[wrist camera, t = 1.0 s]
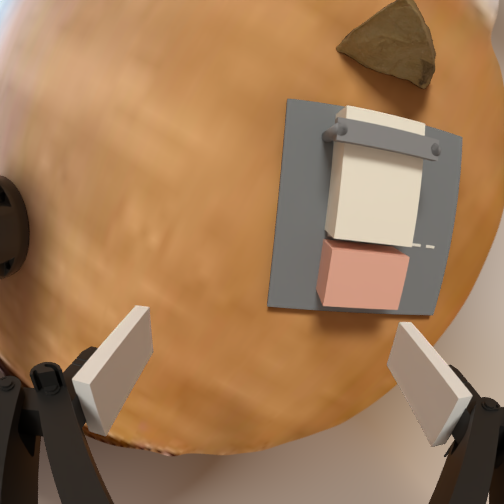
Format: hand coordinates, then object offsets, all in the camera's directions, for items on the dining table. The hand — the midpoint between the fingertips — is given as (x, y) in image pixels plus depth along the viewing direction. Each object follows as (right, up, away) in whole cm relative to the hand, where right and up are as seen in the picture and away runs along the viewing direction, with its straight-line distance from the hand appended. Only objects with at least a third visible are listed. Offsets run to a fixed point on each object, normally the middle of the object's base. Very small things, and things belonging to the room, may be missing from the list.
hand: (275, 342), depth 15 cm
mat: (+12, +8, +17) cm, 22 cm away
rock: (+14, +26, +12) cm, 32 cm away
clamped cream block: (+11, +12, +15) cm, 22 cm away
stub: (+10, +3, +17) cm, 20 cm away
